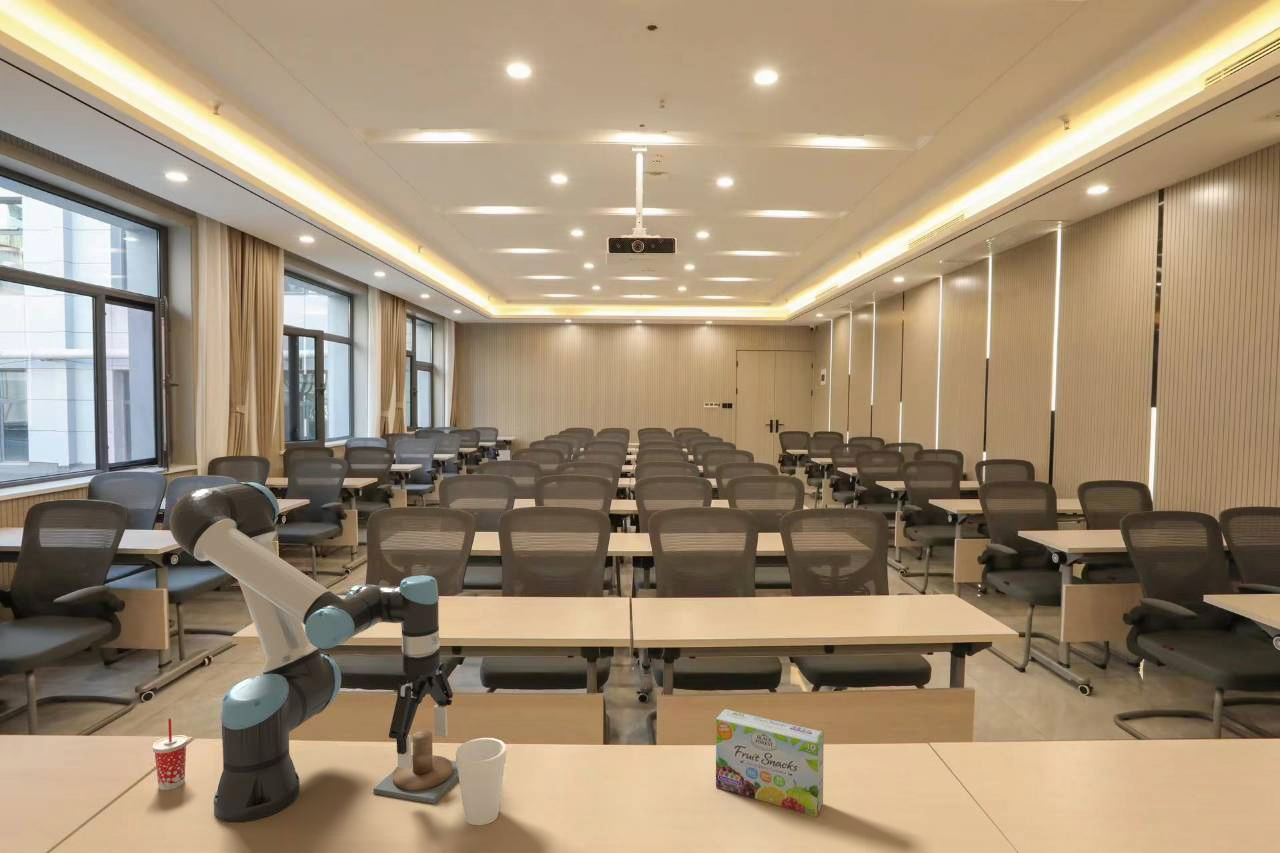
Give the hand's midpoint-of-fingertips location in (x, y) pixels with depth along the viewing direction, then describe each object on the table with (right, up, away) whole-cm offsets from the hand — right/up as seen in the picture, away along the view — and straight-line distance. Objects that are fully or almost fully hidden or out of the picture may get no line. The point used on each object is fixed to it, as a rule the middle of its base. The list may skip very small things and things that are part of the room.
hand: (423, 750), depth 147 cm
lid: (0, -5, 0) cm, 5 cm away
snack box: (+72, -7, -6) cm, 72 cm away
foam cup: (+15, -7, -12) cm, 20 cm away
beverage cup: (-52, -7, -1) cm, 53 cm away
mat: (0, -6, 0) cm, 6 cm away
